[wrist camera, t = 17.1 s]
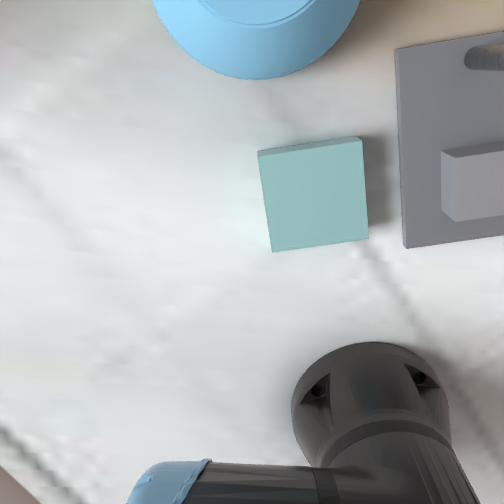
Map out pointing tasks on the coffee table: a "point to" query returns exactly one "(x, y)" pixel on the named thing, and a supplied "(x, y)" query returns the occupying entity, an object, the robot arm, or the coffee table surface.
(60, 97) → the coffee table surface
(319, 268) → the coffee table surface
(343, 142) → the lid
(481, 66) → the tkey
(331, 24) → the sugar bowl
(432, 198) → the grey base plate
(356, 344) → the robot arm
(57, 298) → the coffee table surface
